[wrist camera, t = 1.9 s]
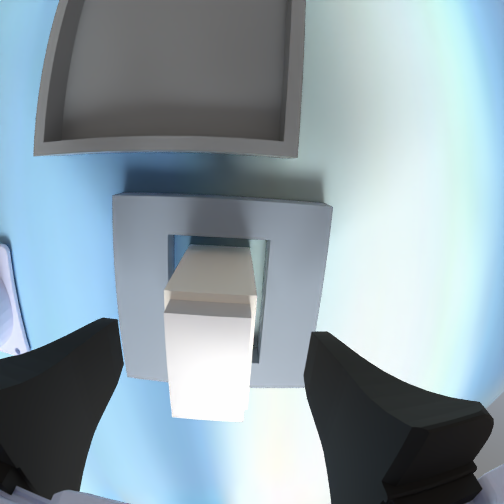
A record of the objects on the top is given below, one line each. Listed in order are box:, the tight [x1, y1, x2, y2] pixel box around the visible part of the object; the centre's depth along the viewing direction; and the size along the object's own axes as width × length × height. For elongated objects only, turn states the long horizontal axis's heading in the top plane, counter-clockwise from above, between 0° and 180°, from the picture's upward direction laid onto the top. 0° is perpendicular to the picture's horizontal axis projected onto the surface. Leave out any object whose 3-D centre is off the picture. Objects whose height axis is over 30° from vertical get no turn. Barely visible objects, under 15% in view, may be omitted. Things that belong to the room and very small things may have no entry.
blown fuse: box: [164, 244, 257, 422], centre depth 13 cm, size 3×5×7 cm, turn 176°
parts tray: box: [33, 0, 306, 159], centre depth 11 cm, size 12×14×2 cm
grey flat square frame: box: [112, 192, 333, 388], centre depth 16 cm, size 10×10×2 cm
